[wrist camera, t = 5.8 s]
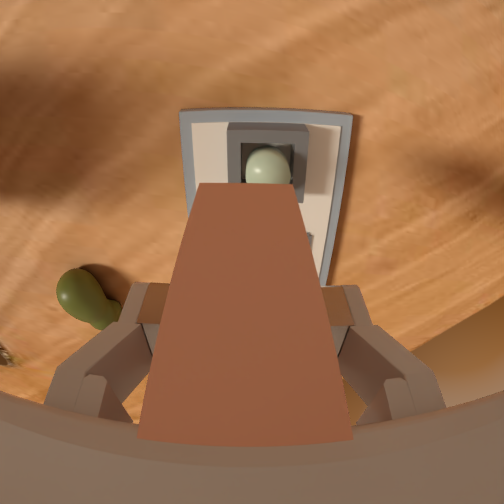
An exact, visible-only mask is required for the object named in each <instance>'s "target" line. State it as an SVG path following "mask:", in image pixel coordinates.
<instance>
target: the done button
mask: <svg viewBox="0 0 504 504" xmlns="http://www.w3.org/2000/svg"><path fill="white" fill-rule="evenodd" d="M290 179H291V174H290V169H289V166H288V162H287V158H286V156H285V154H284V153H283V152H282V151H281V150H280V149H278V148H277V147H274V146H270V145H264V146H260V147H257V148H256V149H254V150H253V151H252V152H251V153H250V154H249V156H248V158H247V161H246V182H247V183H267V184H289V183H290Z"/></svg>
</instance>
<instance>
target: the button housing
mask: <svg viewBox="0 0 504 504" xmlns="http://www.w3.org/2000/svg"><path fill="white" fill-rule="evenodd" d="M309 133H310V132H309V130H308V129H307V127H306V125H305V124H296V123H268V122H229V124H228V127H227V168H228V183H247V182H246V179H242V143H283V144H291V154H290V174H291V179H290V183H289V184H293V187H294V190H295V194H296V197H297V201H298V203H303V201H304V191H305V180H306V169H307V157H308V145H309Z"/></svg>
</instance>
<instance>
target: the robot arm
mask: <svg viewBox="0 0 504 504" xmlns="http://www.w3.org/2000/svg"><path fill="white" fill-rule="evenodd" d="M169 286H170V284H168V283H145V282H134V283H133V284H132V285H131V288H130V290H129V293H128V296H127V298H126V301H125V304H124V306H123V309H122V312H121V315H120V317H119V320H118V322H112V323H111V324H110V325H109V326H107V327H106V328H105V329H104V330H102V331H101V332H100V333H99V334H97V335H96V336H95V337H94V338H92V339H91V340H90V341H89V342H87V343H86V344H85V345H84V346H82V347H81V348H80V349H79V350H77V351H76V352H75V353H74V354H72V355H71V356H70V357H69V358H68V359H66V360H65V361H64V362H63V363H61V364H60V365H59V366H58V367H57V369H56V371H55V374H54V377H53V379H52V382H51V385H50V387H49V390H48V393H47V396H46V399H45V401H44V404H40V403H37V402H33V401H30V400H27V399H24V398H20V397H17V396H14V395H11V394H8V393H5V392H3V391H0V504H504V390H503V391H501V392H498V393H495V394H492V395H489V396H486V397H483V398H480V399H476V400H473V401H470V402H466V403H463V404H459V405H456V406H452V407H448V408H446V405H445V402H444V400H443V397H442V394H441V391H440V388H439V386H438V383H437V380H436V378H435V375H434V372H433V371H432V370H431V369H430V368H429V367H428V366H426V365H425V364H424V363H423V362H422V361H420V360H419V359H418V358H417V357H416V356H414V355H413V354H412V353H411V352H410V351H408V350H407V349H406V348H405V347H404V346H402V345H401V344H400V343H399V342H398V341H396V340H395V339H394V338H393V337H391V336H390V335H389V334H388V333H387V332H385V331H384V330H383V329H382V328H381V327H379V326H378V325H373V324H372V321H371V318H370V316H369V313H368V310H367V307H366V305H365V302H364V299H363V296H362V294H361V291H360V288H359V287H358V286H357V285H341V286H321V290H322V294H323V298H324V302H325V306H326V310H327V314H328V318H329V323H330V327H331V331H332V336H333V340H334V345H335V349H336V354H337V358H338V363H339V367H340V372H341V375H342V376H343V378H344V379H345V380H346V381H347V382H348V383H349V385H350V386H351V387H352V388H353V389H354V390H355V392H356V393H357V394H358V395H359V396H360V398H361V399H362V400H363V401H364V402H365V403H366V405H367V406H368V407H367V409H366V410H365V411H364V413H363V414H362V416H361V417H360V418H359V420H358V421H357V422H356V424H357V425H355V426H351V428H352V434H353V439H354V440H347V441H339V442H330V443H320V444H309V445H294V446H271V447H228V446H205V445H190V444H178V443H168V442H160V441H152V440H144V439H138V438H137V433H138V427H139V424H134V423H133V420H132V419H131V417H130V416H129V415H128V413H127V412H126V410H125V409H124V407H123V406H122V403H123V401H124V400H125V399H126V398H127V397H128V396H129V395H130V393H131V392H132V391H133V390H134V389H135V388H136V386H137V385H138V384H139V383H140V382H141V381H142V380H143V378H144V377H145V376H146V375H147V374H148V373H149V371H150V366H151V361H152V357H153V352H154V348H155V343H156V339H157V335H158V331H159V326H160V322H161V318H162V314H163V310H164V306H165V302H166V298H167V294H168V290H169Z"/></svg>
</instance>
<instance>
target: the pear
mask: <svg viewBox="0 0 504 504" xmlns="http://www.w3.org/2000/svg"><path fill="white" fill-rule="evenodd" d="M56 293H57V298H58V301H59V303H60V305H61V306H62V307H63V309H64V310H65V311H66V312H67V313H69V314H70V315H71V316H73V317H75V318H76V319H78V320H81V321H84V322H88V323H90V324H91V325H92V326H93V327H94V328H96V329H98V330H104V329H105V328H106V327H107V326H109V325H110V324H111V323H112V322H118V320H119V317H120V315H121V312H122V309H121V305H120V303H119V302H117V301H115V300H110V299H107V298H106V297H105V294H104V292H103V290H102V288H101V286H100V285H99V283H98V282H97V280H96V279H95V278H94V276H93V275H92V274H90V273H89V272H88V271H86V270H83V269H71V270H69V271H67V272H66V273H64V274H63V275H62V277H61V278H60V280H59V282H58V284H57V289H56Z"/></svg>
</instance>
